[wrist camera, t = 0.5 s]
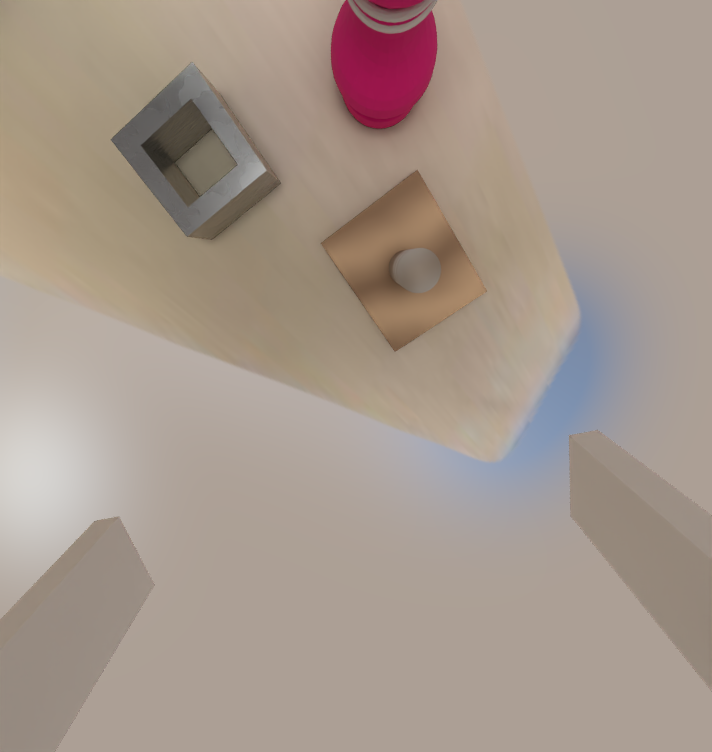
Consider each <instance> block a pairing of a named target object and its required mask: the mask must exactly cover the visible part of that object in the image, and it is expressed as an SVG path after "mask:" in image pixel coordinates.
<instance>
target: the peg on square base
mask: <svg viewBox="0 0 712 752" xmlns="http://www.w3.org/2000/svg"><path fill="white" fill-rule="evenodd" d="M321 244H322V246H323V247H324V249H325V250H326V251H327V253H328V254H329V256H330V257H331V259H332V260H333V262H334V263H335V265H336V266H337V268H338V269H339V270H340V272H341V273H342V275H343V276H344V278H345V279H346V281H347V282H348V284H349V285H350V287H351V288H352V290H353V291H354V292H355V294H356V295H357V297H358V298H359V300H360V301H361V303H362V304H363V306H364V307H365V309H366V310H367V311H368V313H369V314H370V316H371V317H372V319H373V320H374V322H375V323H376V325H377V326H378V328H379V329H380V330H381V332H382V333H383V335H384V336H385V338H386V339H387V341H388V342H389V344H390V345H391V347H392V348H393V350H394V351H397V350H399V349H400V348H402V347H403V346H405V345H406V344H408V343H409V342H411V341H412V340H414V339H415V338H417V337H418V336H420V335H421V334H423V333H424V332H426V331H427V330H429V329H430V328H432V327H433V326H435V325H437V324H438V323H440V322H441V321H443V320H444V319H446V318H447V317H449V316H450V315H452V314H453V313H455V312H456V311H458V310H459V309H461V308H462V307H464V306H465V305H467V304H468V303H470V302H471V301H473V300H474V299H476V298H478V297H479V296H481V295H482V294H484V293H485V292H487V290H486V288H485V287H484V285H483V283H482V281H481V280H480V278H479V276H478V274H477V273H476V271H475V269H474V268H473V266H472V264H471V262H470V261H469V259H468V257H467V255H466V254H465V252H464V250H463V248H462V247H461V245H460V243H459V241H458V240H457V238H456V236H455V234H454V233H453V231H452V229H451V227H450V226H449V224H448V222H447V220H446V219H445V217H444V215H443V213H442V212H441V210H440V208H439V207H438V205H437V203H436V201H435V200H434V198H433V196H432V194H431V193H430V191H429V189H428V187H427V186H426V184H425V182H424V180H423V179H422V177H421V175H420V173H419V172H418V170H417V171H415V172H414V173H413V174H411V175H410V176H409V177H407V178H406V179H405V180H403V181H402V182H401V183H400V184H398V185H397V186H396V187H394V188H393V189H392V190H390V191H389V192H388V193H386V194H385V195H384V196H382V197H381V198H380V199H378V200H377V201H376V202H374V203H373V204H372V205H371V206H369V207H368V208H367V209H365V210H364V211H363V212H361V213H360V214H359V215H357V216H356V217H355V218H353V219H352V220H351V221H349V222H348V223H347V224H346V225H344V226H343V227H342V228H340V229H339V230H338V231H336V232H335V233H334V234H332V235H331V236H330V237H328V238H327V239H326V240H324V241H323V242H322V243H321Z"/></svg>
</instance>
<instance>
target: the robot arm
mask: <svg viewBox="0 0 712 752" xmlns="http://www.w3.org/2000/svg"><path fill="white" fill-rule="evenodd" d="M569 457H570V510H571V517H572V518H573V520H574V521H575V522H576V523H577V525H578V526H579V527H580V528H581V529H582V531H583V532H584V533H585V535H586V536H587V537H588V538H589V539H590V541H591V542H592V543H593V545H594V546H595V547H596V548H597V550H598V551H599V552H600V553H601V554H602V556H603V557H604V558H605V559H606V561H607V562H608V563H609V564H610V566H611V567H612V568H613V569H614V570H615V572H616V573H617V574H618V576H619V577H620V578H621V579H622V580H623V582H624V583H625V584H626V585H627V587H628V588H629V589H630V590H631V592H632V593H633V594H634V595H635V596H636V598H637V599H638V600H639V602H640V603H641V604H642V605H643V606H644V608H645V609H646V610H647V612H648V613H649V614H650V615H651V617H652V618H653V619H654V620H655V622H656V623H657V624H658V625H659V626H660V628H661V629H662V630H663V631H664V633H665V634H666V635H667V636H668V638H669V639H670V640H671V641H672V643H673V644H674V645H675V646H676V647H677V649H678V650H679V651H680V653H681V654H682V655H683V656H684V658H685V659H686V660H687V661H688V662H689V664H690V665H691V666H692V667H693V669H694V670H695V671H696V672H697V674H698V675H699V676H700V677H701V679H702V680H703V681H704V682H705V684H706V685H707V686H708V687H709V688H710V690H711V691H712V515H711V514H709V513H708V512H707V511H706V510H704V509H703V508H701V507H700V506H698V505H697V504H696V503H695V502H693V501H692V500H691V499H689V498H688V497H687V496H685V495H684V494H683V493H681V492H680V491H679V490H677V489H676V488H674V487H673V486H672V485H671V484H669V483H668V482H667V481H665V480H664V479H663V478H661V477H660V476H659V475H657V474H656V473H655V472H653V471H652V470H651V469H649V468H648V467H647V466H645V465H644V464H643V463H641V462H640V461H638V460H637V459H636V458H634V457H633V456H632V455H631V454H629V453H628V452H627V451H625V450H624V449H622V448H621V447H620V446H618V445H617V444H616V443H614V442H613V441H612V440H610V439H609V438H608V437H606V436H605V435H604V434H602V433H601V432H600V431H598V430H595V431H590V432H585V433H579V434H574V435H569ZM153 587H154V583H153V581H152V579H151V577H150V575H149V573H148V571H147V570H146V567H145V566H144V563H143V562H142V560H141V558H140V556H139V554H138V552H137V550H136V548H135V546H134V544H133V542H132V541H131V539H130V537H129V535H128V533H127V531H126V529H125V527H124V525H123V523H122V521H121V519H120V518H119V517H114V518H108V519H102V520H97V521H94V522H93V523H92V525H91V526H90V527H89V528H88V529H87V530H86V531H85V532H84V533H83V534H82V535H81V536H80V537H79V538H78V539H77V540H76V541H75V542H74V543H73V544H72V545H71V546H70V547H69V548H68V550H67V551H66V552H65V553H64V554H63V555H62V556H61V557H60V558H59V559H58V560H57V561H56V562H55V563H54V564H53V565H52V566H51V567H50V568H49V569H48V570H47V572H46V573H45V574H44V575H43V576H42V577H41V578H40V579H39V580H38V581H37V582H36V583H35V584H34V585H33V586H32V587H31V588H30V589H29V590H28V591H27V592H26V593H25V594H24V595H23V596H22V597H21V598H20V600H19V601H18V602H17V603H16V604H15V605H14V606H13V607H12V608H11V609H10V610H9V611H8V612H7V613H6V614H5V615H4V616H3V617H2V618H1V619H0V752H55V751H56V749H57V748H58V746H59V744H60V743H61V741H62V739H63V737H64V736H65V734H66V733H67V731H68V729H69V727H70V726H71V724H72V722H73V721H74V719H75V717H76V716H77V714H78V712H79V711H80V709H81V707H82V706H83V704H84V702H85V701H86V699H87V697H88V696H89V694H90V692H91V691H92V689H93V687H94V686H95V684H96V682H97V681H98V679H99V677H100V676H101V674H102V672H103V671H104V669H105V667H106V666H107V664H108V662H109V661H110V659H111V657H112V656H113V654H114V652H115V651H116V649H117V647H118V645H119V644H120V642H121V640H122V639H123V637H124V636H125V634H126V632H127V631H128V629H129V627H130V626H131V624H132V622H133V621H134V619H135V617H136V616H137V614H138V612H139V611H140V609H141V607H142V605H143V604H144V602H145V600H146V599H147V597H148V595H149V594H150V592H151V590H152V589H153Z"/></svg>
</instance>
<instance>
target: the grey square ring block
mask: <svg viewBox="0 0 712 752" xmlns="http://www.w3.org/2000/svg"><path fill="white" fill-rule="evenodd" d="M211 129H213V130H214V131H215V133H216V134H217V136H218V137H219V138H220V140H221V141H222V143H223V144H224V146H225V147H226V148H227V150H228V151H229V153H230V154H231V156H232V157H233V158H234V160H235V161H236V163H237V164H238V165H237V166H236V167H234V168H233V169H232V170H231V171H230V172H229V173H227V174H226V175H225V176H224V177H223V178H222V179H220V180H219V181H218V182H217V183H216V184H215V185H213V186H212V187H211V188H210V189H209V190H208V191H206V192H205V193H204V194H203V195H202V196H201V197H200V196H199V195H198V194H197V192H196V191H195V190H194V188H193V187H192V186H191V184H190V183H189V182H188V180H187V179H186V178H185V176H184V175H183V174H182V172H181V171H180V170H179V168H178V167H177V166H176V164H175V163H174V162H175V161H176V160H177V159H178V158H180V157H181V156H182V155H183V154H184V153H185V152H186V151H187V150H188V149H190V148H191V147H192V146H193V145H194V144H195V143H196V142H197V141H199V140H200V139H201V138H202V137H203V136H204V135H205V134H206V133H207V132H209V131H210V130H211ZM111 141H112V142H113V143H114V144H115V146H116V147H117V148H118V150H119V151H120V152H121V153H122V155H123V156H124V157H125V158H126V160H127V161H128V162H129V164H130V165H131V166H132V167H133V169H134V170H135V171H136V172H137V174H138V175H139V176H140V178H141V179H142V180H143V181H144V183H145V184H146V185H147V186H148V188H149V189H150V190H151V192H152V193H153V194H154V195H155V197H156V198H157V199H158V200H159V202H160V203H161V204H162V206H163V207H164V208H165V209H166V211H167V212H168V213H169V214H170V216H171V217H172V218H173V220H174V221H175V222H176V223H177V225H178V226H179V227H180V228H181V230H182V231H183V232H184V234H185V235H186V236H187V237H193V238H202V239H211V240H212V239H213V238H215V237H216V236H217V235H218V234H219V233H221V232H222V231H223V230H224V229H226V228H227V227H228V226H229V225H230V224H232V223H233V222H234V221H235V220H237V219H238V218H239V217H240V216H241V215H243V214H244V213H245V212H246V211H248V210H249V209H250V208H251V207H252V206H254V205H255V204H256V203H257V202H259V201H260V200H261V199H262V198H263V197H265V196H266V195H267V194H268V193H269V192H271V191H272V190H273V189H274V188H276V187H277V186H278V185H279V184H280V181H279V180H278V178H277V177H276V175H275V174H274V173H273V171H272V170H271V168H270V167H269V165H268V164H267V162H266V161H265V159H264V158H263V156H262V155H261V154H260V152H259V151H258V149H257V148H256V146H255V145H254V143H253V142H252V140H251V139H250V137H249V136H248V134H247V133H246V132H245V130H244V129H243V127H242V126H241V124H240V123H239V121H238V120H237V118H236V117H235V115H234V114H233V112H232V111H231V110H230V108H229V107H228V105H227V104H226V102H225V101H224V99H223V98H222V96H221V95H220V93H219V92H218V91H217V90H216V89H215V88H214V86H213V85H212V84H211V83H210V82H209V81H208V79H207V78H206V77H205V76H204V75H203V74H202V73H201V71H200V70H199V69H198V68H197V67H196V66H195V64H194V63H193V62H191V63H190V64H189V65H188V66H187V67H186V68H185V69H184V70H183V71H182V72H181V73H180V74H179V75H178V76H177V77H176V78H175V79H174V80H173V81H172V82H171V83H169V84H168V85H167V86H166V87H165V88H164V89H163V90H162V91H161V92H160V93H159V94H158V95H157V96H156V97H155V98H154V99H153V100H152V101H151V102H150V103H149V104H148V105H146V106H145V107H144V108H143V109H142V110H141V111H140V112H139V113H138V114H137V115H136V116H135V117H134V118H133V119H132V120H131V121H130V122H129V123H128V124H127V125H126V126H125V127H123V128H122V129H121V130H120V131H119V132H118V133H117V134H116V135H115V136H114V137H113V138H112V139H111Z"/></svg>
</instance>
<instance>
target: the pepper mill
mask: <svg viewBox="0 0 712 752" xmlns="http://www.w3.org/2000/svg"><path fill="white" fill-rule="evenodd" d="M436 2H437V0H346V1H345V2H344V4H343V5H342V7H341V9H340V12H339V14H338V17H337V19H336V22H335V25H334V29H333V33H332V42H331V63H332V70H333V75H334V79H335V81H336V84H337V86H338V89H339V91H340V92H341V94H342V96H343V99H344V102H345V104H346V106H347V108H348V110H349V112H350V113H351V114H352V115H353V116H354V118H356V119H357V120H358V121H359V122H360V123H362V124H363V125H365V126H368V127H372V128H378V129H380V128H387V127H391V126H393V125H395V124H397V123H399V122H400V121H401V120H402V119H404V118H405V117H406V116H407V114H408V113H409V112H410V110H411V109H412V107H413V105H414V104H415V103H416V102H417V101H418V100H419V99H420V98H421V96H422V95H423V93H424V92H425V90H426V88H427V87H428V84H429V82H430V80H431V77H432V73H433V69H434V65H435V61H436V54H437V31H436V25H435V20H434V16H433V13H432V9H433V7H434V5H435V4H436Z"/></svg>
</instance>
